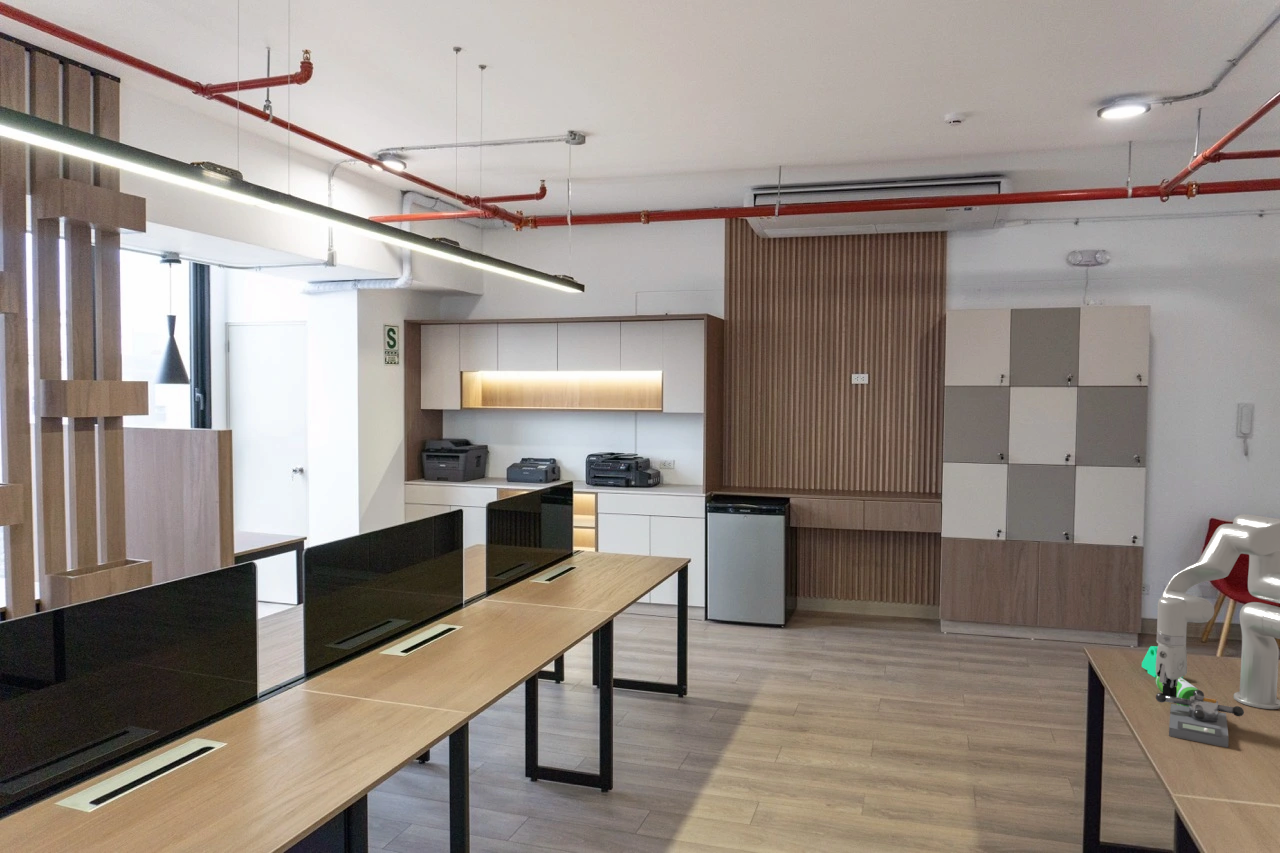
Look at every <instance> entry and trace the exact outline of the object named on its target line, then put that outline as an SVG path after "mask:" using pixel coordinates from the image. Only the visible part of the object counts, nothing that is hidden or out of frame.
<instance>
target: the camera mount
mask: <svg viewBox="0 0 1280 853" xmlns="http://www.w3.org/2000/svg"><path fill="white" fill-rule="evenodd" d="M1157 649H1158V645H1157V646H1155V645H1153V646H1152V645H1151V646H1149V648H1148V650H1147V652H1146V654H1145V656H1144V657H1143V659H1142V661H1141V668H1143V669H1145V670H1146V671H1147V674H1148V675H1150V676H1151V677H1153V678H1155V679H1156V676H1157V675H1156V656H1157ZM1181 678H1183V679H1184V676H1183V677H1181Z"/></svg>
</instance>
